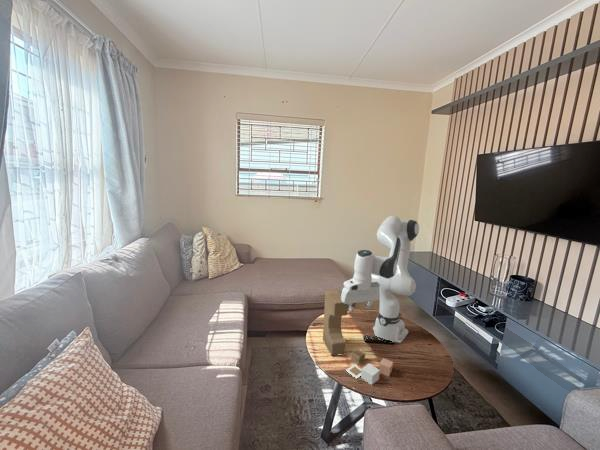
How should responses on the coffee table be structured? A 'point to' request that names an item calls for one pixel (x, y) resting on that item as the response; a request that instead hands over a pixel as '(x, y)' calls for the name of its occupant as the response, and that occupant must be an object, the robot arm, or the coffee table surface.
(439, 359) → the coffee table surface
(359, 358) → the walnut cube
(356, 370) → the card
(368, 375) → the base block
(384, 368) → the terracotta cube
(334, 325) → the decorative block
